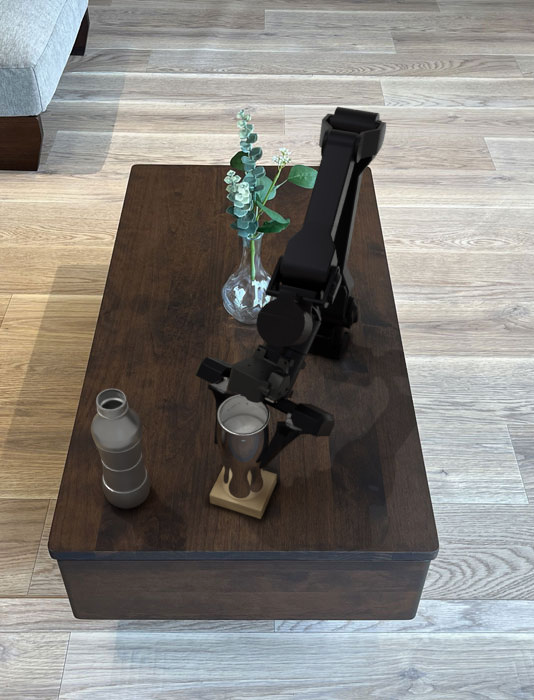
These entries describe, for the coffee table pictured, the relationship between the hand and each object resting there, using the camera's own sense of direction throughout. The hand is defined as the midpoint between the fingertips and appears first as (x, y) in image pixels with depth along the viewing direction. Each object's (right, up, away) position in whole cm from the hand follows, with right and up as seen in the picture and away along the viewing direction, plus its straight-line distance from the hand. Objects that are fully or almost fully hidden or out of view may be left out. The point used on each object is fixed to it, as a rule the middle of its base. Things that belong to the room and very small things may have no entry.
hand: (238, 455), depth 104 cm
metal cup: (+1, -5, +6) cm, 8 cm away
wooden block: (+1, -6, +8) cm, 10 cm away
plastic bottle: (-15, -7, +7) cm, 18 cm away
